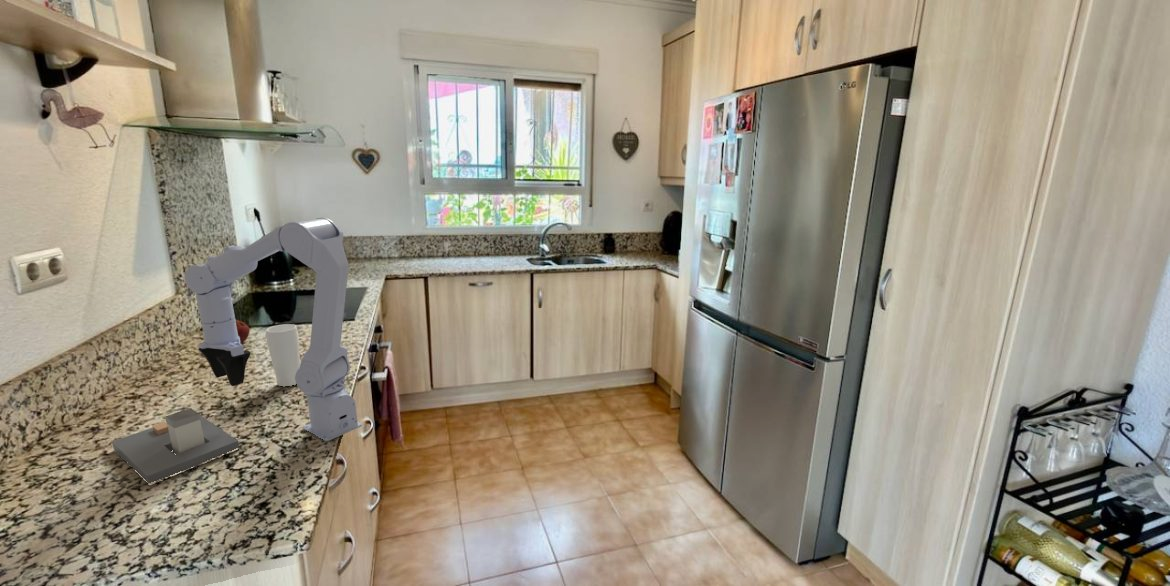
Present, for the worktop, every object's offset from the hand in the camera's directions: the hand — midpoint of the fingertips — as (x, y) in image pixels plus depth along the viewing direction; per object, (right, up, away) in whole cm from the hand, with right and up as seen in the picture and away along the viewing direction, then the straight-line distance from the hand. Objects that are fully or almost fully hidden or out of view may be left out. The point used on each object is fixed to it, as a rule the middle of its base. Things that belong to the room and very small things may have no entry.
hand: (229, 380), depth 107 cm
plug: (0, -12, -10) cm, 16 cm away
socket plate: (-3, -12, -9) cm, 16 cm away
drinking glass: (+1, -5, +21) cm, 21 cm away
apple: (-33, +2, +49) cm, 59 cm away
